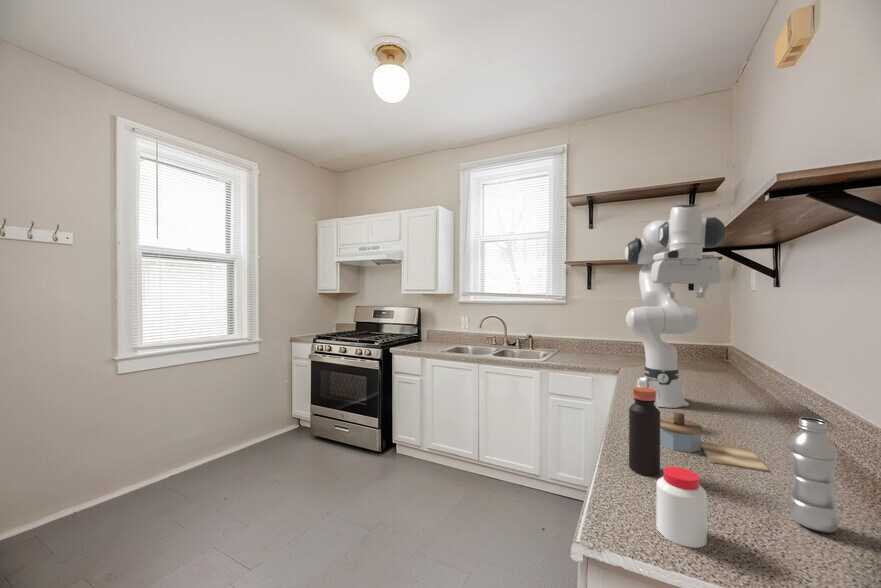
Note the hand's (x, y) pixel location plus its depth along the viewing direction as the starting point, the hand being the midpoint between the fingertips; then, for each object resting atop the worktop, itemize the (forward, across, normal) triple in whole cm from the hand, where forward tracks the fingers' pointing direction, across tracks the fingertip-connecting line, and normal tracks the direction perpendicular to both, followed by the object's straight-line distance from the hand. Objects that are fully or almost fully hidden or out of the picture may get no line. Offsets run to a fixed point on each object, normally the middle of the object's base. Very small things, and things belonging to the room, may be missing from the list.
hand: (685, 298), depth 117 cm
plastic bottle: (+44, +7, +47) cm, 65 cm away
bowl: (+43, +8, +9) cm, 45 cm away
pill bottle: (+44, +33, +50) cm, 74 cm away
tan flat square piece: (+43, -1, +17) cm, 46 cm away
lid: (+38, +8, +10) cm, 40 cm away
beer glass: (+43, +7, -9) cm, 44 cm away
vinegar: (+43, +27, +25) cm, 57 cm away
